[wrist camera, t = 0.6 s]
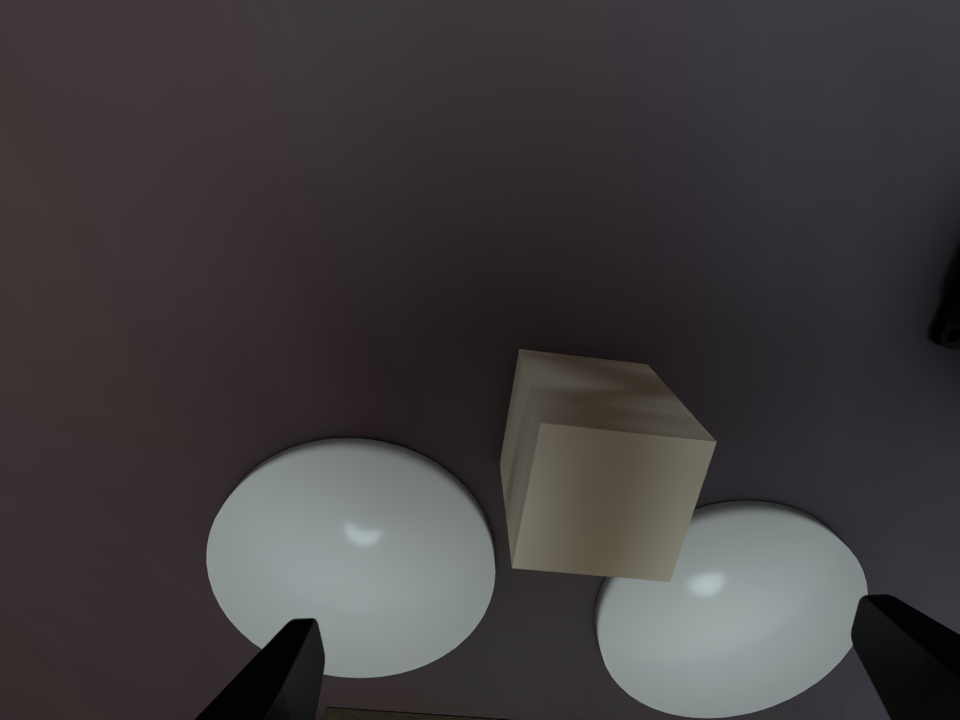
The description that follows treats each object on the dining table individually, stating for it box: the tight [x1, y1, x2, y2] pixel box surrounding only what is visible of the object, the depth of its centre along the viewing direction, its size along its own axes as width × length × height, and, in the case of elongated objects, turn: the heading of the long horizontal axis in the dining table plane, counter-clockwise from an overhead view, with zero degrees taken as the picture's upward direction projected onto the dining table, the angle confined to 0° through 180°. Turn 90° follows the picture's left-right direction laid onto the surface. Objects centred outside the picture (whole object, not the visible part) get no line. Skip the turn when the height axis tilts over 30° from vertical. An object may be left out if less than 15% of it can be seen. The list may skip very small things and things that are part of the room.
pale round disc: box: [207, 438, 495, 678], centre depth 23 cm, size 12×12×1 cm
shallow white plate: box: [595, 500, 868, 718], centre depth 24 cm, size 12×12×1 cm
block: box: [500, 349, 717, 582], centre depth 18 cm, size 5×5×6 cm
